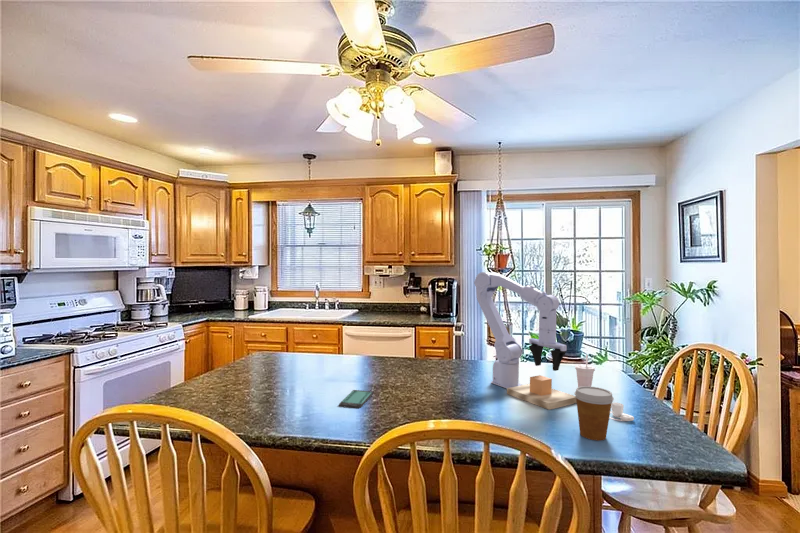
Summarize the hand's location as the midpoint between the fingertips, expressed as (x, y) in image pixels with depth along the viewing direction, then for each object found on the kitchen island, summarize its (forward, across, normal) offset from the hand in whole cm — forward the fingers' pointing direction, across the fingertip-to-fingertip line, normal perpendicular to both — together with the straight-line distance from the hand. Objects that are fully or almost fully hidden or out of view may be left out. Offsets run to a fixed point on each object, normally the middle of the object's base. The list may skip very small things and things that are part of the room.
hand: (546, 367), depth 145 cm
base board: (+9, +2, -5) cm, 11 cm away
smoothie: (+10, +6, +13) cm, 17 cm away
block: (+7, +2, -5) cm, 9 cm away
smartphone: (+10, -26, -61) cm, 67 cm away
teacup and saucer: (+10, +26, -1) cm, 27 cm away
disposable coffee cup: (+10, +30, -18) cm, 36 cm away
